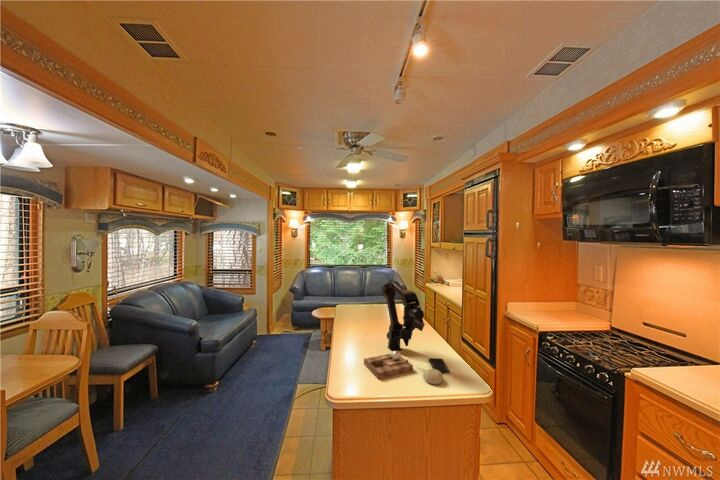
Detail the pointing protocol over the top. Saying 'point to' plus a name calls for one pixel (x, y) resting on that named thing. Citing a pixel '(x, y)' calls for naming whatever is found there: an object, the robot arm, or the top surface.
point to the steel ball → (396, 355)
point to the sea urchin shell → (433, 376)
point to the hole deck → (387, 366)
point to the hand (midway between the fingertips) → (408, 342)
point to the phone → (439, 365)
